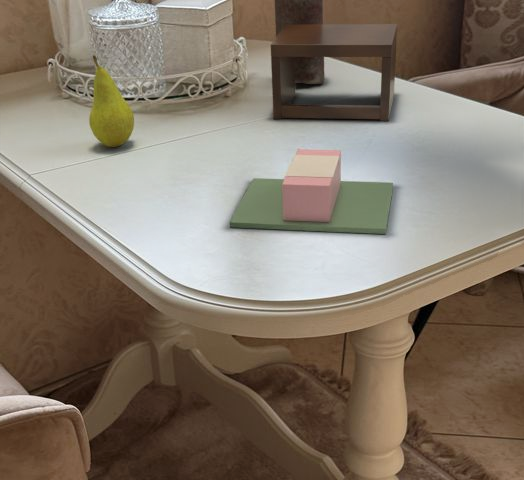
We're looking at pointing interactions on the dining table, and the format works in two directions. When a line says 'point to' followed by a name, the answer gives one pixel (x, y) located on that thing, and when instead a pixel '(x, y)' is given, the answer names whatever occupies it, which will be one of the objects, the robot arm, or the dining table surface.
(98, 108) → the fruit
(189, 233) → the dining table surface
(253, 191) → the placemat
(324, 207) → the block
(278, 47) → the shelf stand
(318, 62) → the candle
